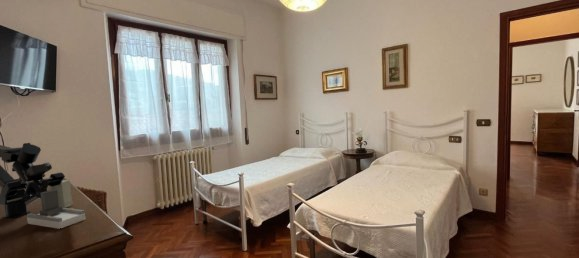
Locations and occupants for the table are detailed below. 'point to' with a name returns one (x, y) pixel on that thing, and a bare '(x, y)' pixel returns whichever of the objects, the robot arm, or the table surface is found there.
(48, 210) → the slider
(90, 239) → the table surface
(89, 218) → the table surface
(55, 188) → the skincare box
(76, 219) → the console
